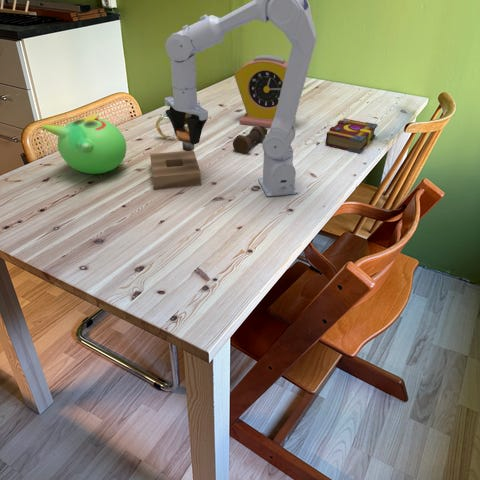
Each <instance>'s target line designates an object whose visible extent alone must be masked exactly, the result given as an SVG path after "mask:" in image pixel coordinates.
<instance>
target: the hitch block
mask: <svg viewBox="0 0 480 480" xmlns="http://www.w3.org/2000/svg"><path fill="white" fill-rule="evenodd" d="M149 156H150V167H151V174H152V175H151V176H152V184H153V189H154V190H162V189H163V190H164V189H175V188H184V187H194V186H195V187H196V186H202V176H201V173H202V172H201V169H200V167H199V164H198V160H197V156H196V153H195V149H194V150H192V151H184V150H181V151H169V152H168V151H167V152H157V153H150V154H149Z"/></svg>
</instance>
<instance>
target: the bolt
mask: <svg viewBox="0 0 480 480" xmlns="http://www.w3.org/2000/svg"><path fill="white" fill-rule="evenodd" d="M267 135H268V129H267V127H263V126H253V127H252V129H251V130H250V131H249V133H248V134H246V135H241V134H238V135H236V136H235V138H234V140H233V141H232V147H233V149H234V151H235V152H236V153H238V154H241V155H246V154H248V153H249V151H250V149H251V148H252V146H253V144H256V143H258V144H259V143H262V142H263V141H264V139H265V137H266V136H267Z"/></svg>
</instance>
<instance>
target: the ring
mask: <svg viewBox="0 0 480 480" xmlns="http://www.w3.org/2000/svg"><path fill="white" fill-rule="evenodd" d="M159 116H160V117H159V118H158V119H157V120H156V122H155V128H156V130H157V132H158V134H159V135H160V136H161V137H162V138H163V139H166V140H168V141H169V140H172V139H174V138H175V137H176V134H175V131H174V132H173V134H172V135H170V134H169V135H166V134H165V133H164V132H163V131H162V129H161V127H160V123H161V122H162V121H163V120H168V121H169V122H171V121H170V119H169V117H168V116H167V114H166V112H165V113H163V114H160V115H159Z"/></svg>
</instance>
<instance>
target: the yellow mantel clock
mask: <svg viewBox="0 0 480 480" xmlns="http://www.w3.org/2000/svg"><path fill="white" fill-rule="evenodd" d="M287 64H288V61H286V59H285V58H283V57H281V56H279V55H275V54H261V55H257V56H255V57H254V58H253V59H252V60H251V61H248V62H247V63H245V64H244V65H242V66H241V67H240V68H238V69H237V70H236V71H235V72H234V76H233V77H234V79H235V82H236V85H237V88H238V91H239V94H240V97H241V99H242V104H243V105H244V106H243V107H244V109H245V110H244V111H245V112H246V113H245V114H244V115H242V117H241V118H240V119H239V124H240V125H246V126H253V127H260V126H263V127H265V128H269V129H270V128H271V125H272V122H273V120H274V117H275V113H276V109H277V105H278V101H279V97H280V93H281V89H282V85H283V81H284V77H285V73H286V69H287Z"/></svg>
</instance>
